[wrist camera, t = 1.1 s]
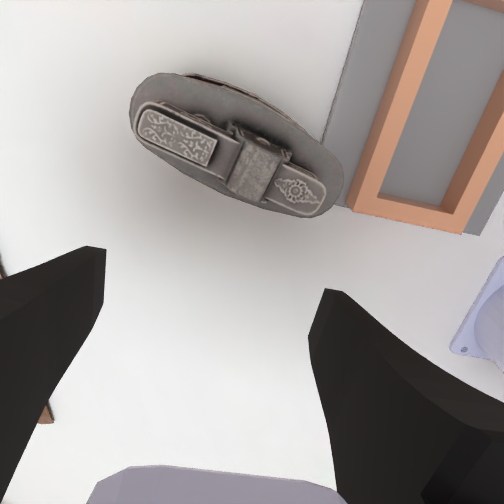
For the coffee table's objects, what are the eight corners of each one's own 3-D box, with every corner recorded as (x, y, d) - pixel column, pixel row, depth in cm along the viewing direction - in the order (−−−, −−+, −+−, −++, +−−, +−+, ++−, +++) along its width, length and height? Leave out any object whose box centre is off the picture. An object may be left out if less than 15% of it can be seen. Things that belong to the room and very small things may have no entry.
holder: (592, 9, 18) (631, 2, 16) (474, 232, 23) (494, 246, 21) (381, -57, 17) (398, -73, 15) (305, 196, 22) (311, 207, 20)
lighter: (321, 129, 20) (388, 174, 11) (292, 184, 21) (330, 265, 12) (181, 56, 18) (124, 39, 9) (158, 121, 20) (89, 162, 11)
